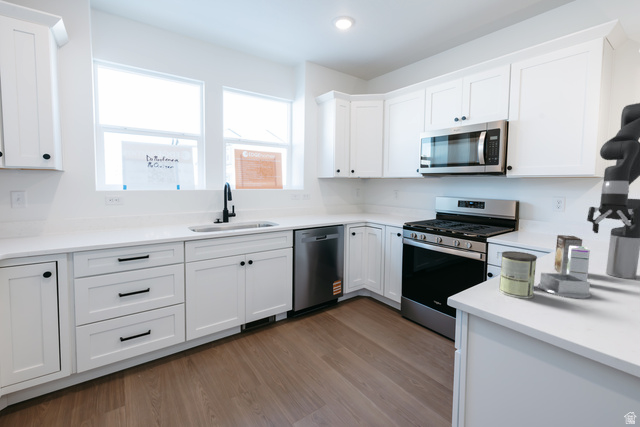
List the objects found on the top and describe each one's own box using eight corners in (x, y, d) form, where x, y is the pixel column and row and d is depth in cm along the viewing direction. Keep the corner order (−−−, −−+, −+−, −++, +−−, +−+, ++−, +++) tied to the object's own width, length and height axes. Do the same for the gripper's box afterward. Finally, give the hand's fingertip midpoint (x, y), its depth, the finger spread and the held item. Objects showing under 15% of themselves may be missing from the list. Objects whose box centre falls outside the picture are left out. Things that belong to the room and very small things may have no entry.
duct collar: (529, 282, 118) (530, 270, 117) (569, 284, 117) (571, 272, 116) (555, 297, 103) (556, 283, 103) (602, 299, 102) (604, 285, 101)
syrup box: (587, 286, 115) (591, 249, 113) (567, 283, 118) (571, 247, 116) (583, 282, 119) (587, 246, 118) (564, 279, 123) (568, 244, 121)
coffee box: (553, 269, 138) (556, 234, 136) (570, 270, 136) (574, 235, 134) (561, 274, 130) (564, 238, 128) (579, 276, 127) (583, 239, 126)
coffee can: (495, 286, 113) (498, 250, 112) (527, 290, 110) (531, 252, 108) (502, 296, 103) (505, 256, 102) (537, 300, 100) (541, 259, 99)
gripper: (635, 193, 117) (630, 235, 118) (587, 192, 124) (583, 231, 125) (644, 193, 111) (639, 237, 112) (593, 192, 117) (589, 233, 118)
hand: (610, 234), depth 118 cm, fingers open, 8 cm apart
